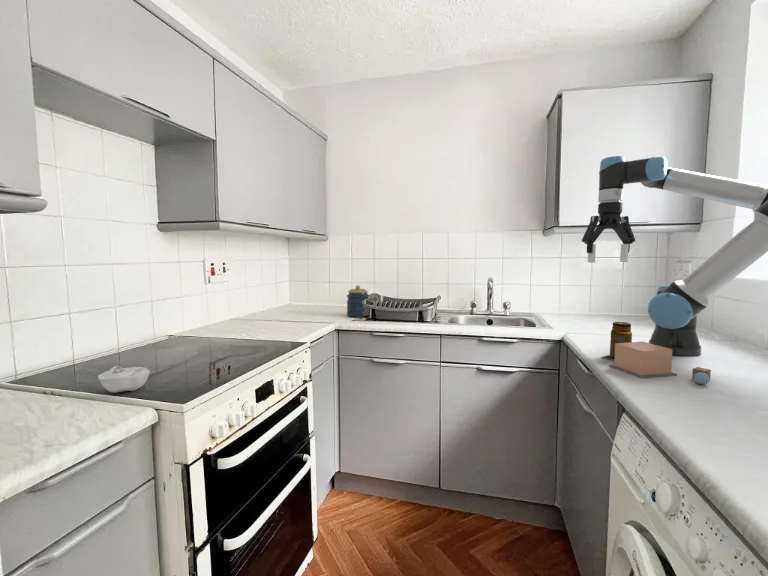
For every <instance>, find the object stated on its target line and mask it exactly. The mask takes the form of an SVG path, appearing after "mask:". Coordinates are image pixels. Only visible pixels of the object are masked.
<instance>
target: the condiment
mask: <svg viewBox="0 0 768 576" xmlns="http://www.w3.org/2000/svg"><path fill="white" fill-rule="evenodd" d="M632 332H633V331H632V324H631V323H630V322H627V321H625V322H624V321H614V322H612V327H611V330H610V344H609V354H607V355H604V356H601V358H602V359H605V360H606V359H607V360H610V361H613V362H614V361H615V343H628V342H632V341H633V333H632Z"/></svg>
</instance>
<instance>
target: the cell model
mask: <svg viewBox="0 0 768 576" xmlns="http://www.w3.org/2000/svg"><path fill="white" fill-rule="evenodd" d="M150 373H151V371H150V369H148V368H147V367H143V366H134V367H123V368H122V366H120V365H115V366H113V367H111V368H110V369H109V370H106V371H104V372H101V373H100V374H98V375H97V379H98V381H99V382H100V383H101V386H102V387H103V388H104V389H106V390H107V391H108V392H110V393H115V394H116V393H123V392H127V391H130V392H131V391H132V392H133V391H136V390H138V389H140V388H142V386H144V384H146V382H147V380H148V379H149V375H150Z"/></svg>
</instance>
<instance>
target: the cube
mask: <svg viewBox="0 0 768 576" xmlns="http://www.w3.org/2000/svg"><path fill="white" fill-rule="evenodd" d="M699 372H702V373H705V374H707V375H708V376H709V381H711V375H712V374H711V373H712V370H711V369H708V368H704V367H699V366H696V367H693V368H692V373H691V380H694V376H695V374H696V373H699Z"/></svg>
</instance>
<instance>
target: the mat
mask: <svg viewBox="0 0 768 576" xmlns="http://www.w3.org/2000/svg"><path fill="white" fill-rule="evenodd" d="M608 367H610V368H613V369H616V370H618V371H621V372H624V373H626V374H629V375H632V376H634V375H635V376H634V377H638V378H640V377H641V378H640V379H646V378H647V377H648V378H647V379H649V377H650V378H660V377H669V376H670V377H671V376H672V375H673V376H678V374H677V373H675V372H672V371H671V373H664V374H653V375H639V374H637V373H634V372H631V371H628V370H625V369H623V368H620V367H617V366H614V364H609V365H608Z"/></svg>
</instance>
